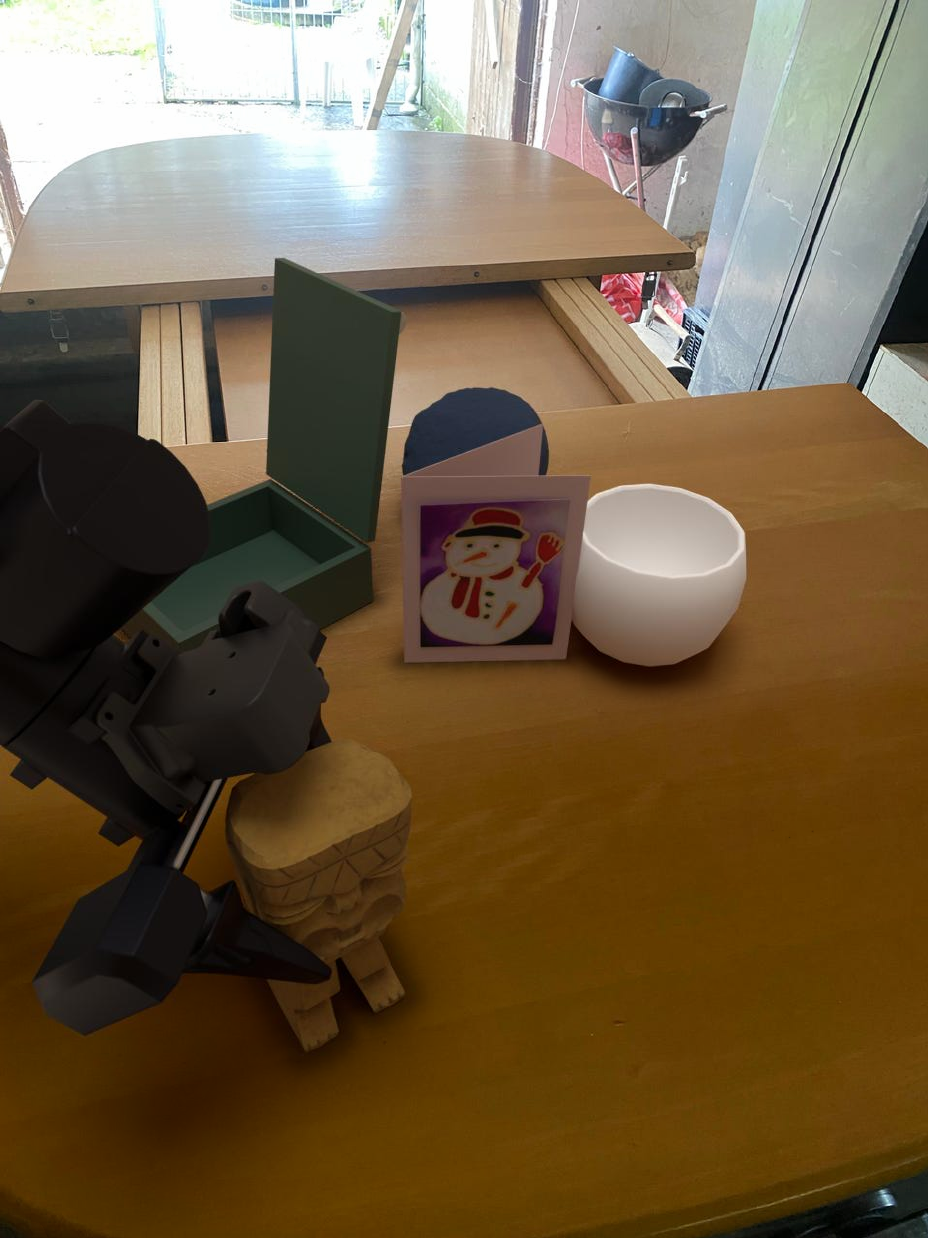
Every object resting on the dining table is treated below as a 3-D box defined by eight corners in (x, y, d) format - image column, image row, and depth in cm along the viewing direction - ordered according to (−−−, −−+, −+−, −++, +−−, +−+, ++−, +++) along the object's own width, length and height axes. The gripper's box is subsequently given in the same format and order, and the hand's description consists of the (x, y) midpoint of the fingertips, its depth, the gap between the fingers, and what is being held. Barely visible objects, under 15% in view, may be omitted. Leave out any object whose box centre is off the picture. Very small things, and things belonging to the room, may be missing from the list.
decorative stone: (435, 468, 85) (436, 366, 78) (559, 496, 81) (571, 392, 75) (381, 534, 76) (377, 426, 70) (517, 569, 73) (526, 458, 67)
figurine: (294, 1071, 43) (258, 879, 33) (239, 960, 47) (194, 761, 37) (423, 995, 46) (425, 800, 36) (362, 897, 50) (348, 699, 40)
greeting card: (404, 671, 64) (401, 484, 54) (403, 603, 69) (400, 423, 60) (567, 667, 64) (593, 483, 55) (553, 601, 70) (574, 423, 60)
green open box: (191, 699, 61) (178, 642, 58) (100, 609, 68) (84, 554, 65) (373, 601, 69) (371, 547, 66) (276, 530, 76) (270, 478, 73)
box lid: (392, 311, 57) (443, 307, 60) (274, 257, 64) (325, 255, 67) (366, 543, 66) (412, 529, 68) (265, 474, 72) (311, 464, 75)
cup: (550, 582, 72) (562, 475, 66) (708, 589, 72) (735, 482, 66) (558, 693, 62) (572, 580, 56) (739, 701, 62) (774, 588, 56)
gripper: (22, 801, 24) (437, 1071, 30) (261, 450, 38) (509, 679, 44) (-137, 922, 30) (235, 1127, 36) (121, 579, 44) (357, 766, 50)
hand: (349, 897), depth 41 cm, fingers closed on figurine, 7 cm apart
